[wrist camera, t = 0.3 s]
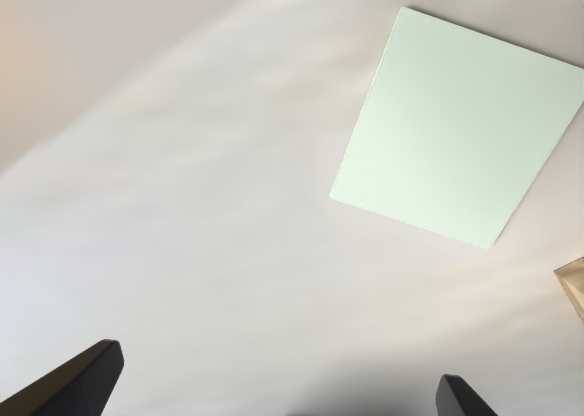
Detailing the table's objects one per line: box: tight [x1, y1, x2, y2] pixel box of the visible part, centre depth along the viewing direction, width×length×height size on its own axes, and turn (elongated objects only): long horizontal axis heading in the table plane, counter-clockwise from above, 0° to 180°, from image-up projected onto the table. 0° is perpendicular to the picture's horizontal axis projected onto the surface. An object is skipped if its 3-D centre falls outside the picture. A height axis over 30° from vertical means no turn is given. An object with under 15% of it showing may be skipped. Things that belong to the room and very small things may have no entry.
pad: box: [330, 7, 584, 250], centre depth 20 cm, size 12×12×1 cm
